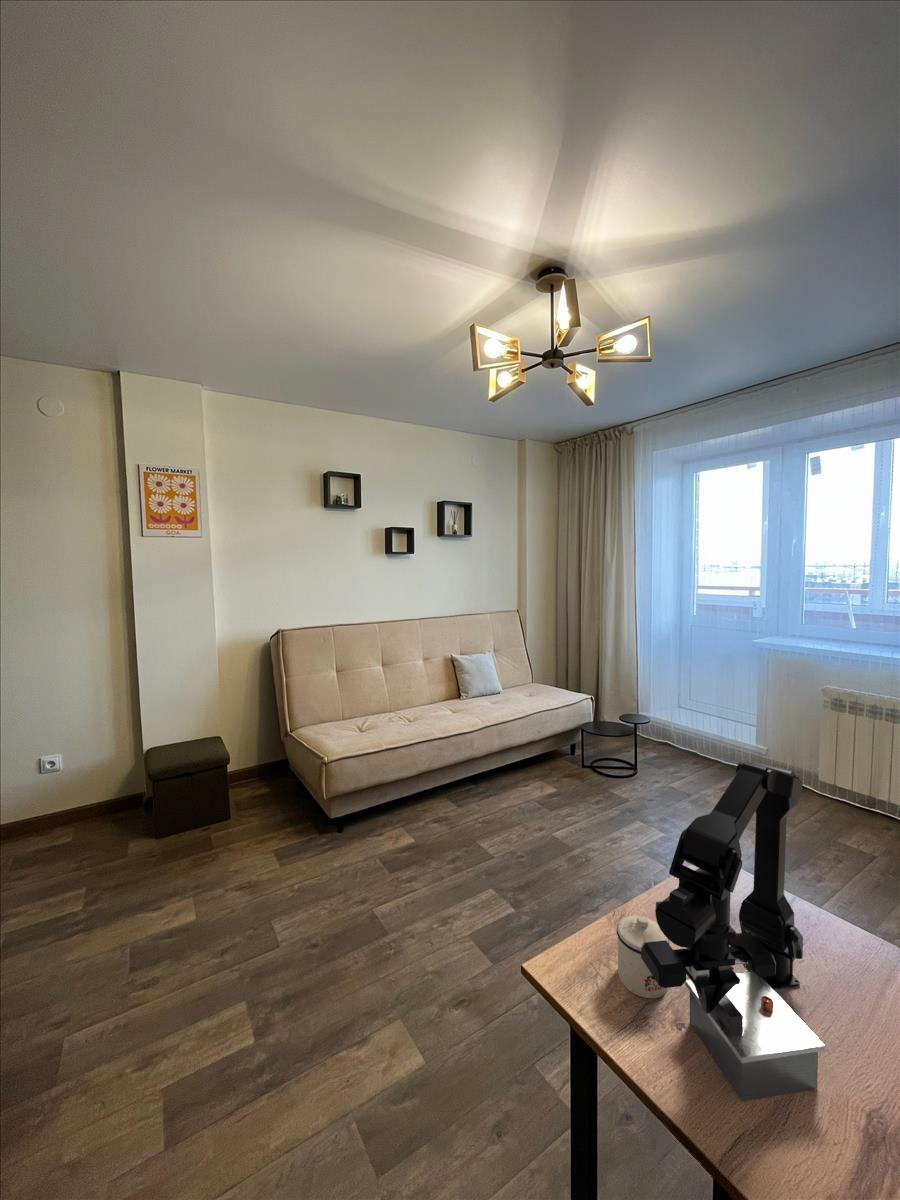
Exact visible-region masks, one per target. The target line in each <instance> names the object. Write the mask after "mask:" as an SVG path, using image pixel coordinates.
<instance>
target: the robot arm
mask: <svg viewBox="0 0 900 1200" xmlns="http://www.w3.org/2000/svg"><path fill="white" fill-rule="evenodd" d="M803 786H804V785H803V781H802V779H800V777H799V776H797V774H796V772H795V771H793V770H790V769H786V768H781V767H778V766H774V765H769V764H766V763H762V762H758V761H755V762H750V761H739V762H738V764H737V766H736V769H735V775H734V776H733V778H732V780H730V783H729V784H728V785H727V788H725V791H724V792H723V794H722V795H721V796H720V798H719V800H717V802H716V804H715V806H714V807H713V809H712V810H711V811H710V812H709V813H708V814H705V815H700V816H697V817H695V818H694V819H693V820H692V821H691V822H690V824H689V825H688V826H687V827H686V828H685V829H684V830H683V831H681V834H680V837H679V840H678V842H677V845H676V849H675V852H674V855H673V859H672V861H671V864H670V867H669V872H668V874H669V875H670V876H672V877H674V878H676V879H678V887H677V888H675V889H673V890H671V891H670V892H669V895H668V896H667V897H666V898H665V899H663V900H662V901H656V902H655V910H654V912H655V919H656V923H657V924H658V925H659V927H660V929H661V931H662V932H663V934H664V935H665V936H666V937H667V938H668V939H669V942H671V943H673V944H674V945H676V946H678V947H680V948H678V949H676V948H675V949H673V948H672V946H671V945H670V943H669V944H668V942H667V941H666V940H664V941H654V942H645V943H643V944H642V947H641V958H642V960H643V961H644V963H645V965H646V966H647V968H648V969H649V971H650V972H651V974H652V975H653V977H654V978H655V980H656V982H657V983H658V985H659V986H661V987H663V988H667V989H668V988H669V989H670V988H679V987H682V986H683V985H685V981H686V980H687V977H688V978H689V980H691V981H692V982H693V984H694V985H695V988H696V991H697V994H698V997H699V1000H700V1003H701V1006H702V1008H703V1010H704V1011H705V1013H706V1014H707V1013H711V1011H712V1010H713V1009H714V1008H715V1006H716V1005H717V1004H718V1003H719V1002H720V1000H721V999H722V998H723V997H724V996H725V995H726V994H727V993H728V992H729V991H730V990H731V989H732V988H733V987H734V986H735V985H737V984H740V978H739V977H738V976H737V975H736V974H737V973H736V972H735V969H734V966H737V965H739V966H740V965H745V966H746V967H747V968H748V969H749V971H750V972H754V973H755V974H756V975H757V976H758V977H759V978H761V977H762V978H763V979H764V980H765V981H766V982H767V983H768V984H769V985H770V987H771V988H772V989H773V990H778V989H786V988H794V987H799V986H800V985H801V982H800V981H799V979H798V978H797V977H795V976H794V974H793V972H794V970H793V969H794V962H795V960H802V959H803V956H804V949H803V948H804V937H803V935H802V934H801V932H800V931H799V930H798V928H797V927H796V926H795V912H794V910H793V908H792V907H791V904H790V902H789V901H788V900H787V898H786V896H785V876H786V875H785V873H786V872H785V871H786V846H787V845H786V842H787V841H786V840H787V820H788V819H787V818H788V815H789V814H790V813H791V812H792V811H793V810H795V808H796V807H797V806H798V804H799V800H800V799H801V797H802V795H803ZM754 814H755V830H754V831H755V832H754V833H755V836H754V859H753V861H754V864H753V889H752V891H751V892H750V893H749V894H748V896H746V898H745V899H743V900H742V902H741V905H740V908H739V910H738V911H739V913H738V921H739V927H740V931H741V932H738V933H737V931H736V930H735V929H734V928H733V927H732V926H731V922H730V921H731V893H734V890H735V887H736V884H737V883H738V882H737V881H738V878H739V876H740V874H741V870H742V867H743V860H742V850H741V844H740V839H741V837H742V835H743V833H744V832H745V830H746V828H747V827H748V824H749V823H750V821H752V820H751V819H752V818H753V816H754ZM685 862H686V863H687V864H689V865H692V866H694V867H696V868H697V869H692V868H691V867H688V866H686V865H684V863H685Z"/></svg>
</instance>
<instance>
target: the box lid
mask: <svg viewBox="0 0 900 1200" xmlns="http://www.w3.org/2000/svg"><path fill="white" fill-rule="evenodd" d="M735 974H736V975H737V976H738V977H739V978H740V984H737V985H735V986H734V987H733V988H732V989H731V990H730V991H729V992H728V993H727V994H726V995H725V996H724V997H723V998H722V999H721V1000H720V1002H719V1003H718V1004H717V1005H716V1006H715V1008H714V1009H713V1010H712V1011H711V1013H707V1016H708V1017H709V1018H710V1020H711V1021H712V1023H713V1024H714V1025H715V1027H716V1028H717V1030H718V1031H719V1032H720V1034H721V1035H722V1037H723V1038H724V1039H725V1041H726V1042H727V1043H728V1045H729V1046H730V1048H731V1049H732V1050H733V1052H734V1053H735V1055H736V1056H737V1057H738V1059H739V1060H740V1062H741V1063H747V1062H753V1061H760V1060H766V1059H773V1058H779V1057H786V1056H793V1055H799V1054H806V1053H812V1052H818V1053H819V1052H824V1051H825V1050H826V1047H825V1046H826V1045H825V1044H824V1043H823V1041H821V1040H820V1039H819V1037H818V1036H817V1035H816V1034H815V1033H814V1032H813V1031H812V1030H811V1029H810V1028H809V1027H808V1025H806V1023H805V1022H804V1021H803V1020H802V1019H801V1018H800V1017H799V1015H797V1014H796V1012H794V1010H793V1009H792V1008H791V1007H790V1006H789V1005H788V1003H786V1001H785V1000H784V999H783V998H782V997H781V996H780V995H779V993H777V992H776V991H775V989H772V988H771V987H770V985H769V984H768V983H767V982H766V981H765V980H764V979H763V978H762V977H761V978H759V977H758V976H757V975H756V974H755V973H754V972H752V971H748V972H739V973H735ZM684 985H685V986H686V988H687V989H688V991H689V993H690V992H691V993H692V995H693V996H694V997H695V999H696V1000H697V1002H698V1003H699V1004H700V1006H701V1003H700V1000H699V997H698V994H697V991H696V988H695V985H694V984H693V982H692V981H691V980H690V979H686V981H685V983H684ZM701 1007H702V1006H701ZM702 1009H703V1008H702Z"/></svg>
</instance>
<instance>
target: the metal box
mask: <svg viewBox="0 0 900 1200" xmlns="http://www.w3.org/2000/svg"><path fill="white" fill-rule="evenodd" d="M689 1024H690V1026H691V1027H692V1029H693V1031H694V1032H695V1034H696V1035H697V1037H698V1038H699V1040H700V1041H701V1043H702V1045H703V1046H704V1047H705V1049H706V1050H707V1052H708V1053H709V1055H710V1056H711V1058H712V1059H713V1061H714V1062H715V1064H716V1065H717V1067H718V1069H719V1070H720V1071H721V1073H722V1074H723V1076H724V1078H725V1079H726V1080H727V1082H728V1084H729V1086H731V1088H732V1089H733V1090H734V1092H735V1094H736V1096H737V1097H738V1099H739V1100H740V1102H748V1101H752V1100H753V1101H754V1100H759V1099H760V1100H761V1099H765V1098H773V1097H776V1096H783V1095H789V1094H796V1093H804V1092H809V1091H814V1090H818V1076H819V1075H818V1070H819V1069H818V1068H819V1067H818V1066H819V1052H812V1053H806V1054H799V1055H793V1056H786V1057H779V1058H773V1059H766V1060H760V1061H753V1062H747V1063H741V1062H740V1060H739V1059H738V1057H737V1056H736V1055H735V1053H734V1052H733V1050H732V1049H731V1048H730V1046H729V1045H728V1043H727V1042H726V1041H725V1039H724V1038H723V1037H722V1035H721V1034H720V1032H719V1031H718V1030H717V1028H716V1027H715V1025H714V1024H713V1023H712V1021H711V1020H710V1018H709V1017H708V1016H707V1014H706V1013H705V1011H704V1010H703V1009H702V1007H701V1006H700V1004H699V1003H698V1002H697V1000H696V999H695V997H694V996H693V995H692V993H691V992H690V991H689Z"/></svg>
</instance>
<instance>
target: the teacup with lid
mask: <svg viewBox="0 0 900 1200" xmlns="http://www.w3.org/2000/svg"><path fill="white" fill-rule="evenodd" d="M616 936H617V972H618V973H617V974H618V978H619V980H620V982H621V983H622V985H623V986H624V987H625V988H626V989H628V991H629V992H631V993H632V994H634V995H636V996H638V997H641V998H646V999H657V998H660V997H662V996H664V995H665V993H666V992H667V991H668V988H663V987H661V986H659V985H658V983H657V982H656V980H655V978H654V977H653V975H652V974H651V972H650V971H649V969H648V968H647V966H646V965H645V963H644V961H643V960H642V958H641V947H642V944H643V943H645V942H654V941H664V940H666V941H667V942H668V944H669V945H670V940H669V939H668V938H667V937H666V936H665V935H664V934H663V932H662V931H661V929H660V927H659V925H658V923H657V921H654V920H653V919H651V918H648V917H645V916H642V915H628V916H625V917H623V918H622V919H621V920H619V922H618V923H617V926H616Z"/></svg>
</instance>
